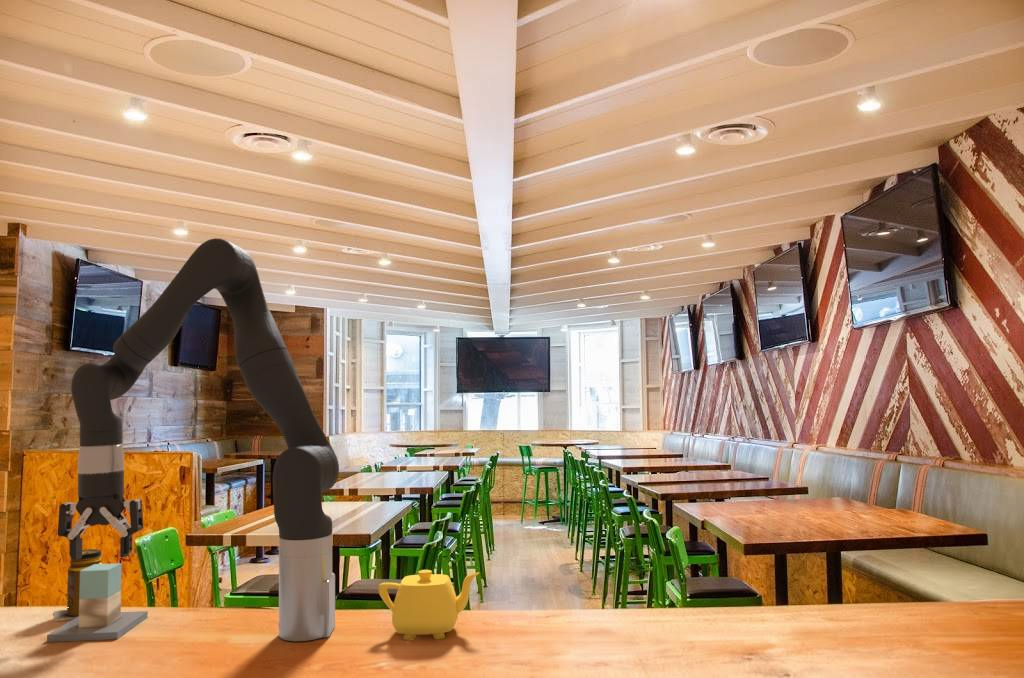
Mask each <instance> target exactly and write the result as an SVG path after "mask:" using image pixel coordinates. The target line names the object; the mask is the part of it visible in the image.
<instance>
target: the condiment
mask: <svg viewBox="0 0 1024 678" xmlns="http://www.w3.org/2000/svg"><path fill="white" fill-rule="evenodd" d="M101 560H102V551H101V550H100V549H96V548H95V549H93V548H91V549H90V548H89V549H82V558H81V559H78V560H72V557H70V561H69V563H70V566H69V567H68V569H67V594H66V595H67V598H66V599H67V601H66V609H59V610H54V611H53V619H54V623H56V622H59V621H66V620H73V619H75V618H77V617H78V616H79V591H80V571H81V570H83V569H85V568H87V567H89V566H92V565H94V564H103V562H101ZM67 607H69V608H67Z"/></svg>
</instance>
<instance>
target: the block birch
mask: <svg viewBox="0 0 1024 678" xmlns="http://www.w3.org/2000/svg"><path fill="white" fill-rule="evenodd" d="M121 607H122V590H121V591H119V592H117V593H116V594H114V595H112V596H111V597H109V598H96V599H79V627H104V626H109V625H110V624H112V623H113V622H115V621H116V620H118V619H119V618H121V612H122V611H121Z"/></svg>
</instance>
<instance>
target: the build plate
mask: <svg viewBox="0 0 1024 678" xmlns="http://www.w3.org/2000/svg"><path fill="white" fill-rule="evenodd" d="M148 612H149V611H148V610H143V611H141V610H140V611H138V610H137V611H121V618H119V619H118V620H116V621H115V622H113V623H112V624H110V625H109V626H104V627H79V616H78V617H77V618H73V619H71V620H70V621H68V622H67V623H65V624H63V625H62V626H59V627H58V628H57V629H55V630H53V631H51V632H50V633H48V634H47V635H46V642H47V643H51V642H52V643H53V642H54V643H55V642H74V641H75V642H76V641H77V642H81V641H99V640H100V641H101V640H103V641H104V640H105V641H107V640H118V639H120V638H121V637H123V636H124V635H125V634H126V633H128V632H130V631H131V630H133V629H134V628H135V627H136V626H138V625H139V624H140V623H142V622H143V621H145V620H146V619H147V618H148Z"/></svg>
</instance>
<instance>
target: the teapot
mask: <svg viewBox="0 0 1024 678" xmlns="http://www.w3.org/2000/svg"><path fill="white" fill-rule="evenodd" d="M417 573H418V574H412V575H406V576H404V577H403V578H402V580H401V581H400V583H397V582H382V583H380V584H378V588H377V589H378V594H379V596H380V598H381V599H382V601H383V602H384V603H385V605H386V606H387V607H388V608H389V610H390V611H391V612H392V615H391V616H392V617H391V621H392V622H391V623H392V625H393V629H394V630H395V631H396V633H398V634H402V635H404V636H403V638H402V639H403V640H404V641H412V640H415V639H416V638H417V636H418V635H419V636H420V635H421V636H422V635H423V636H424V635H425V636H426V635H432V638H433V639H434V640H442V639H445V638H446V634H445V633H449V632H451V631H452V630H453V629H454V627H455V625H456V622H457V621H458V617H459V614H460V613H461V612H463V610H464V609H465V608H466V606H467V605H468V602H469V596H470V590H471V589H470V588H471V584H472V582H473V580H474V578H476V577H477V576H478V575H479V574H480V572H474V573H469V574H468V575H466V577H465V578H463V579H464V580H463V582H462V587H461V591H460V593H459V594H458V595H457V594H456V591H455V588H454V586H453V583H452V580H451V578H450V577H449V575H448V574H442V573H441V574H440V573H439V574H437V573H436V574H435V573H434V574H433V570H430V569H420V570H418V572H417ZM388 589H397V592H396V595H395V598H394V602H393V601H392V600H391V598H390V595H389V592H388V591H389V590H388Z"/></svg>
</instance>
